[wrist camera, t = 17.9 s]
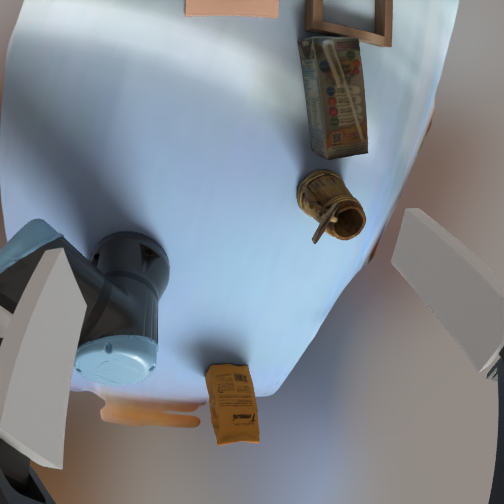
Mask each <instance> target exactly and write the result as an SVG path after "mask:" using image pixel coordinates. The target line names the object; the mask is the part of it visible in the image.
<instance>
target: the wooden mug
mask: <svg viewBox="0 0 504 504" xmlns="http://www.w3.org/2000/svg"><path fill="white" fill-rule="evenodd" d="M297 201H298V205H299V207H300V208H301V209H302V210H303V211H304V212H305V213H306V214H307V215H309V216H310V217H313V218H314V219H315V220H316V221H318V222H319V223H320V224H319V226H318V228H317V230H316V232H315V234H314V236H313V238H312V241H313V243H314V244H316V243H317V241H318V240H319V239H320V237H321V236H322V234H323V233H324V231H325V232H326V233H328V234H329V235H331V236H333V237H336V238H337V239H340V240H349V239H352V238H353V237H355V236H357V235H358V234H360V232H361V231H362V229H363V228H364V226H365V223H366V216H365V213H364V211H363V208H362V206H361V204H360V203H359V201H358V200H357V199H356V198H354V197H353V196H352V194H351V193H350V192H349V190H348V189H347V188H346V186H345V184H344V182H343V181H342V179H341V177H340V176H339V175H338V174H336V173H335V172H333V171H330V170H317V171H314V172H311V173H310V174H309V175H308V176H306V177H305V179H304V180H303V181H302V183H301V184H300V186H299V188H298V192H297Z"/></svg>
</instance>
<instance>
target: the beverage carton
mask: <svg viewBox="0 0 504 504" xmlns="http://www.w3.org/2000/svg"><path fill="white" fill-rule="evenodd" d="M298 47H299V53H300V58H301V65H302V73H303V79H304V86H305V94H306V102H307V110H308V119H309V127H310V135H311V143H312V150H313V151H315V152H316V153H318V154H319V155H321V156H322V157H324V158H326V159H327V160H331V159H336V158H343V157H349V156H353V155H359V154H366V153H368V136H367V116H366V103H365V90H364V80H363V71H362V63H361V56H360V47H359V39H358V38H352V37H323V36H320V37H311V38H307V39H302V40H299V41H298Z"/></svg>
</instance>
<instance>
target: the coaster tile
mask: <svg viewBox="0 0 504 504" xmlns="http://www.w3.org/2000/svg"><path fill="white" fill-rule="evenodd" d="M278 9H279V0H186V14H185V17H192V16H249V17H264V18H278Z"/></svg>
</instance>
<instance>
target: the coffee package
mask: <svg viewBox="0 0 504 504" xmlns="http://www.w3.org/2000/svg"><path fill="white" fill-rule="evenodd" d="M205 379H206V385H207V390H208V393H209V403H210V412H211V421H212V425H213V427H214V432H215V434H216V438H217V443H218V445H225V444H229V443H234V442H239V441H244V442H251V443H259V426H258V416H257V412H258V410H257V404H256V399H255V393H254V387H253V382H252V379H251V375H250V372H249V368H248V366H247V365H245V366H235V365H232V364H219V365H211V366H210V368H209V370H208V372H207V373H206V378H205Z"/></svg>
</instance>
